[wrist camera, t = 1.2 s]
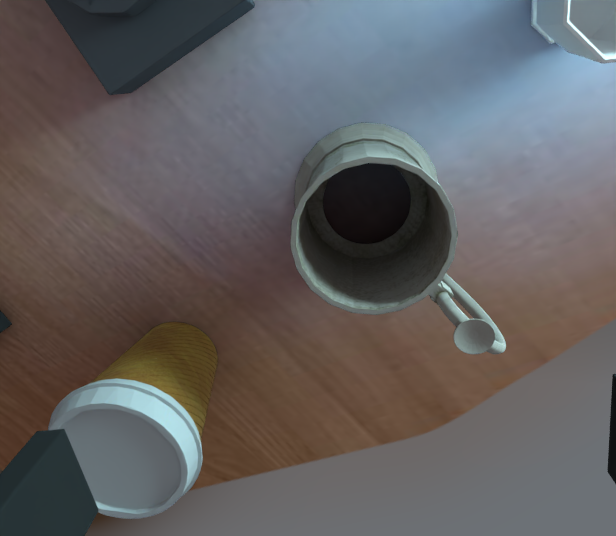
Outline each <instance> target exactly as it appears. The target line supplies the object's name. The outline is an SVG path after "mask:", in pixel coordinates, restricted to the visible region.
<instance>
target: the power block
mask: <svg viewBox="0 0 616 536" xmlns="http://www.w3.org/2000/svg"><path fill="white" fill-rule="evenodd" d="M45 1H46V2H47V4H48V5H49V7H50V8H51V10H52V11H53V13H54V14H55V16H56V17H57V18H58V20H59V21H60V23H61V24H62V26H63V27H64V29H65V30H66V32H67V33H68V35H69V36H70V38H71V39H72V41H73V42H74V43H75V45H76V46H77V48H78V49H79V51H80V52H81V54H82V55H83V57H84V58H85V60H86V61H87V63H88V64H89V66H90V67H91V69H92V70H93V71H94V73H95V74H96V76H97V77H98V79H99V80H100V82H101V83H102V85H103V86H104V88H105V89H106V91H107V92H108V94H109V95H114V94H125V93H132V92H133V91H134V90H136V89H137V88H139V87H140V86H142V85H143V84H145V83H146V82H147V81H149V80H150V79H152V78H153V77H155V76H156V75H157V74H159V73H160V72H162V71H163V70H165V69H166V68H168V67H169V66H170V65H172V64H173V63H175V62H176V61H178V60H179V59H180V58H182V57H183V56H185V55H186V54H188V53H189V52H191V51H192V50H193V49H195V48H196V47H198V46H199V45H201V44H202V43H203V42H205V41H206V40H208V39H209V38H211V37H212V36H214V35H215V34H216V33H218V32H219V31H221V30H222V29H224V28H225V27H226V26H228V25H229V24H231V23H232V22H234V21H235V20H237V19H238V18H239V17H241V16H242V15H244V14H245V13H247V12H248V11H249V10H251V9H252V8H254V7H255V4H254V2H253V1H252V0H45Z"/></svg>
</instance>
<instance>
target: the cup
mask: <svg viewBox="0 0 616 536" xmlns="http://www.w3.org/2000/svg"><path fill="white" fill-rule="evenodd" d="M531 25H532V26H533V27H534V28H535V29H536V30H537V31H538V32H539V33H540V34H541V35H542V36H543V37H544V38H545V39H546V40H547V41H548V42H549V43H550V44H551V43H557V44H558V45H559V46H560V47H562V48H563V49H564V50H566V51H567V52H569V53H572V54H576V55H579V56H582V57H585V58H588V59H590V60H593V61H596V62H600V63H611V62H616V0H532V6H531Z"/></svg>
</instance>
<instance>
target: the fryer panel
mask: <svg viewBox="0 0 616 536" xmlns="http://www.w3.org/2000/svg"><path fill="white" fill-rule="evenodd" d="M10 325H12V324H11V322H10V321H9V320H8V319H7V318H6V317H5V315H4V314H3V313H2V312H1V311H0V333H1V332H2V331H4V330H5V329H6V328H8V327H9V326H10Z"/></svg>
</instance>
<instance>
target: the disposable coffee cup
mask: <svg viewBox="0 0 616 536" xmlns="http://www.w3.org/2000/svg"><path fill="white" fill-rule="evenodd" d="M217 362H218V357H217V352H216V349H215V346H214V345H213V343H212V341H211V340H210V339H209V338H208V336H207V335H206V334H204V333H203V332H202V331H200V330H199V329H198V328H196V327H194V326H192V325H189V324H185V323H180V322H168V323H163V324H160V325H158V326H156V327H154V328H153V329H151V330H150V331H149V332H148V333H147V334H146V335H145V336H144V337H142V338H141V339H140V340H139V341H138V342H137V343H136V344H134V345H133V346H132V347H131V348H130V349H129V350H127V351H126V352H125V353H124V354H123V355H122V356H121V357H120V358H118V359H117V360H116V361H115V362H114V363H113V364H111V365H110V366H109V367H108V368H107V369H106V370H105V371H103V372H102V373H101V374H100V375H99V376H98V377H96V378H95V379H94V380H93V381H92V382H91V383H90V384H88V385H86V386H83V387H81V388H79V389H77V390H75V391H72V392H71V393H70V394H68V395H67V396H66V397H65V398H64V399H63V400H62V401H61V402H60V403H59V404H58V405H57V407H56V408H55V410H54V412H53V413H52V416H51V419H50V423H49V427H48V430H57V429H65V431H66V434H67V436H68V439H69V441H70V443H71V446H72V448H73V450H74V453H75V455H76V457H77V460H78V462H79V465H80V467H81V469H82V472H83V474H84V476H85V479H86V481H87V483H88V486H89V488H90V491H91V493H92V495H93V498H94V500H95V502H96V505H97V507H98V509H99V511H98V512H99V513H101V514H104V515H108V516H112V517H117V518H128V519H135V518H144V517H149V516H153V515H156V514H158V513H161V512H163V511H165V510H166V509H168V508H169V507H170V506H172V505H173V504H174V503H176V501H177V500H178V499H179V498H180V497H181V496H183V495H184V494H185V493H186V492H187V491H188V490H189V489H190V488H191V487H192V486H193V484H194V483H195V481H196V479H197V478H198V476H199V472H200V469H201V465H202V459H203V458H202V447H201V438H202V432H203V429H204V424H205V419H206V413H207V410H208V406H209V401H210V396H211V391H212V386H213V381H214V377H215V372H216V369H217Z"/></svg>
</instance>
